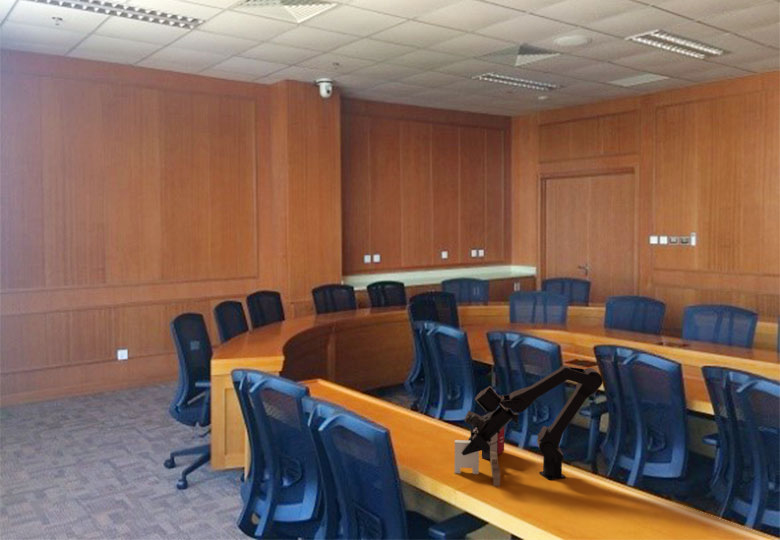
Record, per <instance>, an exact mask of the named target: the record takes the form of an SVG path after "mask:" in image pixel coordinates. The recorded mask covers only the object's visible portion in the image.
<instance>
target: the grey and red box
mask: <svg viewBox="0 0 780 540" xmlns="http://www.w3.org/2000/svg"><path fill="white" fill-rule="evenodd" d="M494 411H495V410H494ZM494 411H493V412H494ZM493 412H487V413H486V414H484V415H480V416H481V417H483V418H484V417H485V416H490V415H491V414H492V413H493ZM491 451H496V452H497V456H498V455H500V454H502V453H504V452H505V426H504V427H503V428H502V429H501V430H500V433H499V434H498V433H497V434H495V435H494V436H493V437H492V438H491V441H490V450H489V451H488V452H487V453H484V452H483V451H482V450H481V458H482V459H484V460H489V459H490V458H491ZM489 461H490V460H489Z"/></svg>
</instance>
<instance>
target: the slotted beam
mask: <svg viewBox="0 0 780 540" xmlns="http://www.w3.org/2000/svg"><path fill="white" fill-rule="evenodd" d="M489 461H490V468H491V476H492V482H493V483H492V485H493V486H494V487H500V486H501V470H500V465H499V458H498V455H497V452H496V451H491V458H490V460H489Z"/></svg>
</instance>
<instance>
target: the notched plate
mask: <svg viewBox="0 0 780 540" xmlns="http://www.w3.org/2000/svg"><path fill="white" fill-rule="evenodd" d="M469 442H470V440H468V439H467V440H465V439H463V440H462V439H455V440H454V474H461V471H462V470H461V469H462V468H463V469H472V475H479V473H480V471H479V470H480V469H479V468H480V467H479V466H480V464H479V463H480V451H477V452H474V453H470V454H467V455H463V454H462V452H463V450H464V449H465V448H466V446H467V445H468V444H469Z"/></svg>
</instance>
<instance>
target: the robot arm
mask: <svg viewBox="0 0 780 540" xmlns="http://www.w3.org/2000/svg"><path fill="white" fill-rule="evenodd" d="M566 381H571V382H574V383H576V387H575V390H574V392H573V393H572V394H571V396H570V397H569V399H567V401H566V403H565V405H563V408H562V409H561V410H560V412H559V413H558V415H557V416H556V418H555V419H554V420H553V423H552V424H550V425H549V426H548V427H546V426H545V425H543V426H542V428H541V430H540V431H539V432H538V433H537V434H536V435H537V439H536V442H537V443H536V444H537V447H538V449H539V452H540V453H541V454H542V455H543V458H542V459H543V460H542V463H543V464H542V465H543V466H542V471H541V470H540V471H539V472H538V473H539V474H540V475H541V476H543V477H544V478H546V479H547V480H550V481H551V480H559V479H565V478H566V477H567V475H565V474H563V472H562V471H563V467H562V466H563V460H564V454H563V452H562V449H561V448H560V443H561V441H562V437H563V434H564V432H565V431H566V429H567V428H568V426H569V425H570V423H571V422H572V420H573V419H574V418H575V416H576V414H577V413H578V412H579V410H580V409H581V407H582V406H583V404H584V403H585V401H586V400H587V399H588V398H589V397H590V396H592V395H593V394H595V393H596V392H597V391H598V390H599V389H600V388H601V386H602V385H603V382H604V381H603V377H602V375H601V374H600V373H599V371H597V370H596V369H595V368H592V367H588V368H582V367H581V368H580V367H574V366H573V367H572V366H568V365H561V366H560V367H559V369H557V370H555V371H552V373H550V374H547V376H545V377H544V378H541V379H540V380H539V381H537V382H535V383H534V384H531V385H530V386H527V387H524V388H520V389H517V390H515V391H512V392H510V394H502V395H499V394H498V393H497V392H496V390H494V388H493V387H492V386H491V385H489V386H488V387H486V388H484V389H483V390H481V391H480V392H479V393H478V394H477V395H476V396H475V397H474V401H476V402H477V404H479V406H480V407H481V408H482V409H483V410H485V412H486V413H490V412H493V411H494V412H493V413H492V414H491V415H490V416H485V417H484V418H483V417H481V416H482V415H479V414H477V413H475V412H473V411H471V410H468V411H467V413H466V415H465V418H464V423H466V424H467V425H471V427H472V428H473V429H472V428H470V435H469V436H470V437H469V438H468V439H467V440H470V442H469V444H468V445H467V446H466V448H465V449H464V450H463V452H462V454H463V455H467V454H470V453H474V452H477V451H479V452H482V451H483V452H484V453H487V452H488V451H489V450H490V441H491V438H492V437H493V436H494V435H495V434H497V433H498V434H499V433H500V430H501V429H502V428H503V427H504V428H505V426H506V425H507V424H509V423H510V422H511V420H513V422H515V423H516V424H518V423H519V413H523V412H525V410H527V408H529V407H530V406H531V405H532V404H533V403H534V402H535V401H536V400H537V399H538V398H539V397H541V396H542V395H544V394H546V393H547V392H550V391H552V389H555V388H556V387H558V386H559V385H561V384H563V383H564V382H566Z"/></svg>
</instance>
